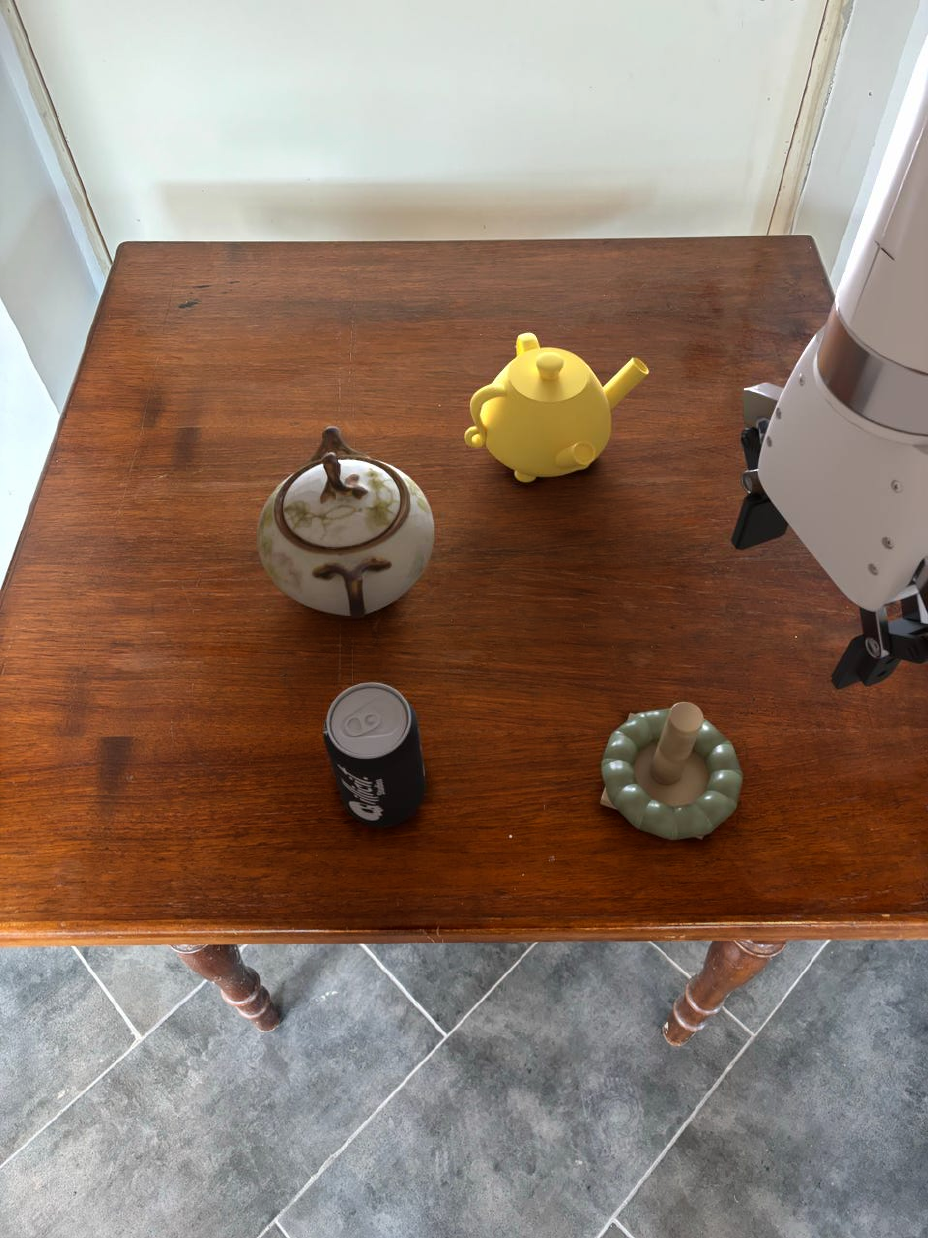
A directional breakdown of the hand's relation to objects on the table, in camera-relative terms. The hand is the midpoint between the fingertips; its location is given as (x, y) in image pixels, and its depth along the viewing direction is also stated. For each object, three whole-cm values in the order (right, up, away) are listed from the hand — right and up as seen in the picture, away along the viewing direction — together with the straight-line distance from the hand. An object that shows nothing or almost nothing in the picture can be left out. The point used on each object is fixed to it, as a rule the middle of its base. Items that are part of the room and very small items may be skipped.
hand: (805, 604), depth 51 cm
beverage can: (-25, -14, +23) cm, 37 cm away
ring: (-3, -12, +21) cm, 25 cm away
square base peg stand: (-3, -13, +23) cm, 27 cm away
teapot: (-9, +16, +43) cm, 47 cm away
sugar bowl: (-28, +3, +35) cm, 45 cm away
